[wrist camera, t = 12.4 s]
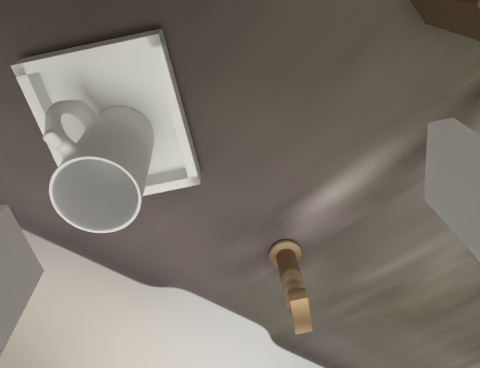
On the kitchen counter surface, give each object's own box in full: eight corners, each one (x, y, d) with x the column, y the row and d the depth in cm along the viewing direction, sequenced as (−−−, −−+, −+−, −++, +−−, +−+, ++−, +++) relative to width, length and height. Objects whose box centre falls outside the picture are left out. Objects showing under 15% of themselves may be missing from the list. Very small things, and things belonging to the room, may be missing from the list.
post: (265, 239, 50) (279, 303, 41) (297, 233, 50) (318, 295, 41) (271, 270, 52) (285, 336, 43) (302, 264, 52) (322, 329, 43)
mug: (170, 144, 42) (159, 206, 32) (119, 176, 44) (92, 246, 33) (104, 60, 38) (65, 102, 27) (49, 99, 39) (-7, 153, 29)
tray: (23, 57, 38) (10, 65, 35) (161, 28, 37) (158, 33, 35) (85, 194, 45) (77, 209, 42) (200, 170, 45) (200, 184, 42)
